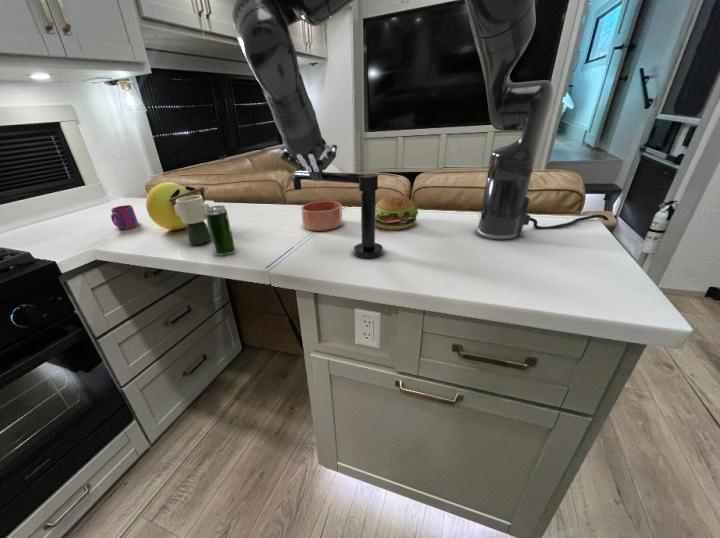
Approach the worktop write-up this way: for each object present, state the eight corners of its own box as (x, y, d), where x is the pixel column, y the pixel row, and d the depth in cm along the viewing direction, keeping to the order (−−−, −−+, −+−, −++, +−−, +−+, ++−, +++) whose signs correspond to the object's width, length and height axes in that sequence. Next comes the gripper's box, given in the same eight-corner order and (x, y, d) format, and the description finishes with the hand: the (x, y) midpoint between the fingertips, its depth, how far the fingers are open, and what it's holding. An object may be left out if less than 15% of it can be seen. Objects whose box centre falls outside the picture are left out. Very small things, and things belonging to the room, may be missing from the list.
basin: (342, 218, 108) (341, 199, 105) (342, 230, 97) (342, 210, 94) (305, 220, 108) (303, 202, 105) (301, 233, 98) (299, 213, 95)
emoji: (182, 238, 102) (167, 188, 95) (143, 235, 108) (126, 188, 100) (212, 222, 115) (201, 177, 107) (177, 220, 120) (164, 177, 113)
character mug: (223, 238, 99) (212, 194, 93) (212, 246, 93) (200, 200, 87) (190, 238, 102) (178, 195, 95) (178, 247, 96) (164, 201, 89)
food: (368, 218, 106) (368, 192, 102) (413, 216, 103) (415, 190, 99) (368, 232, 94) (368, 204, 90) (419, 231, 92) (421, 202, 88)
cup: (142, 223, 121) (136, 204, 117) (124, 232, 112) (116, 212, 109) (126, 223, 122) (119, 205, 119) (107, 232, 114) (99, 213, 110)
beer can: (219, 257, 86) (207, 212, 80) (212, 252, 90) (201, 208, 84) (238, 252, 88) (228, 207, 82) (231, 247, 92) (221, 204, 86)
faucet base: (380, 247, 84) (382, 186, 76) (384, 258, 78) (386, 193, 70) (353, 248, 85) (351, 188, 77) (354, 259, 79) (353, 195, 71)
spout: (380, 194, 74) (381, 173, 72) (371, 198, 72) (371, 176, 69) (299, 187, 88) (298, 169, 85) (289, 190, 85) (287, 172, 83)
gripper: (260, 139, 63) (289, 191, 79) (327, 136, 60) (343, 191, 76) (267, 107, 65) (294, 164, 81) (333, 102, 61) (347, 163, 78)
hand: (318, 177), depth 78 cm, fingers closed
